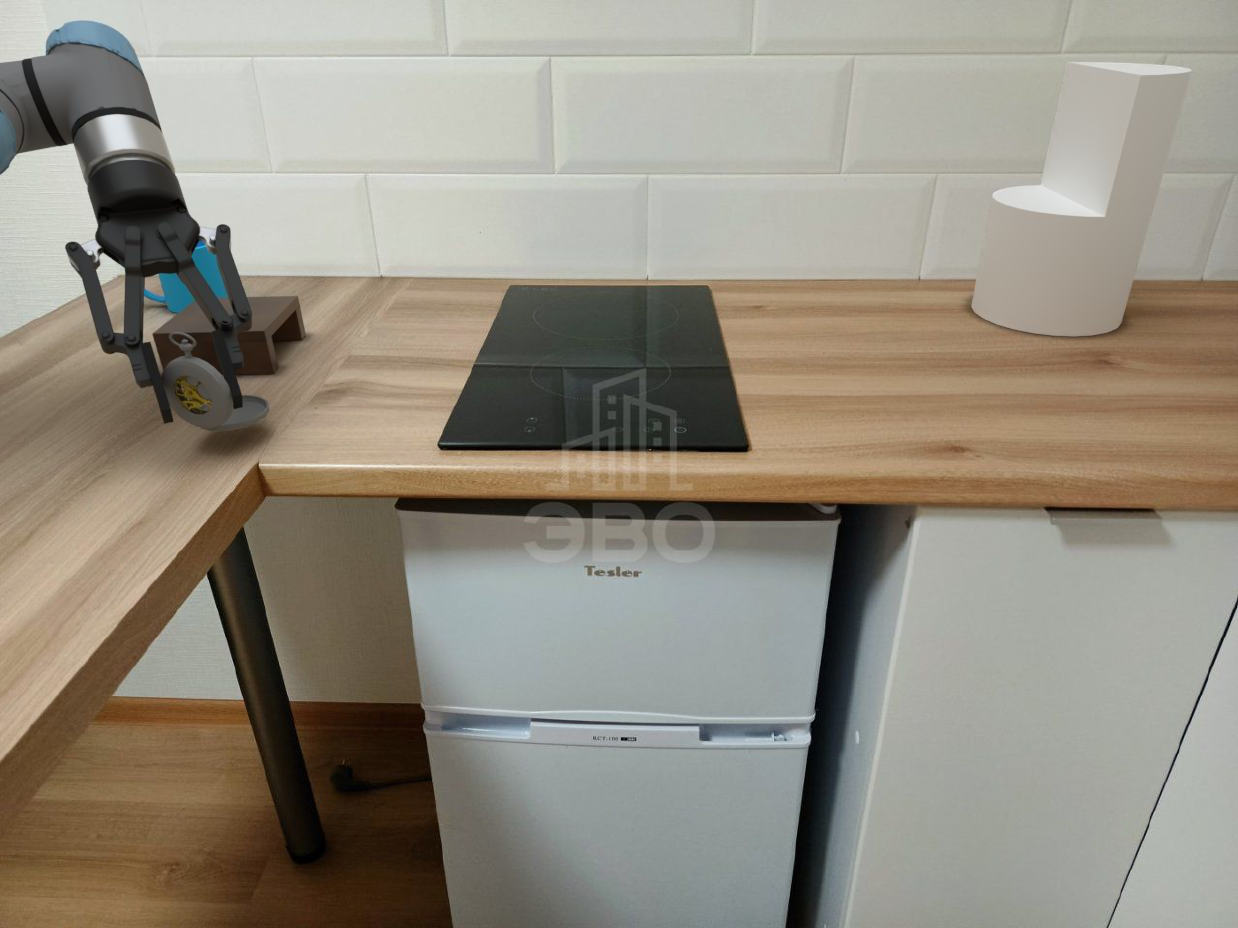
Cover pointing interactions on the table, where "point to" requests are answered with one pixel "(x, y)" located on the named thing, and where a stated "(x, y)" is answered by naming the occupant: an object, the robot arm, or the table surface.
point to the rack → (268, 324)
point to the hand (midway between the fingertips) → (203, 409)
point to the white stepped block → (1082, 204)
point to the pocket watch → (207, 394)
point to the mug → (177, 291)
